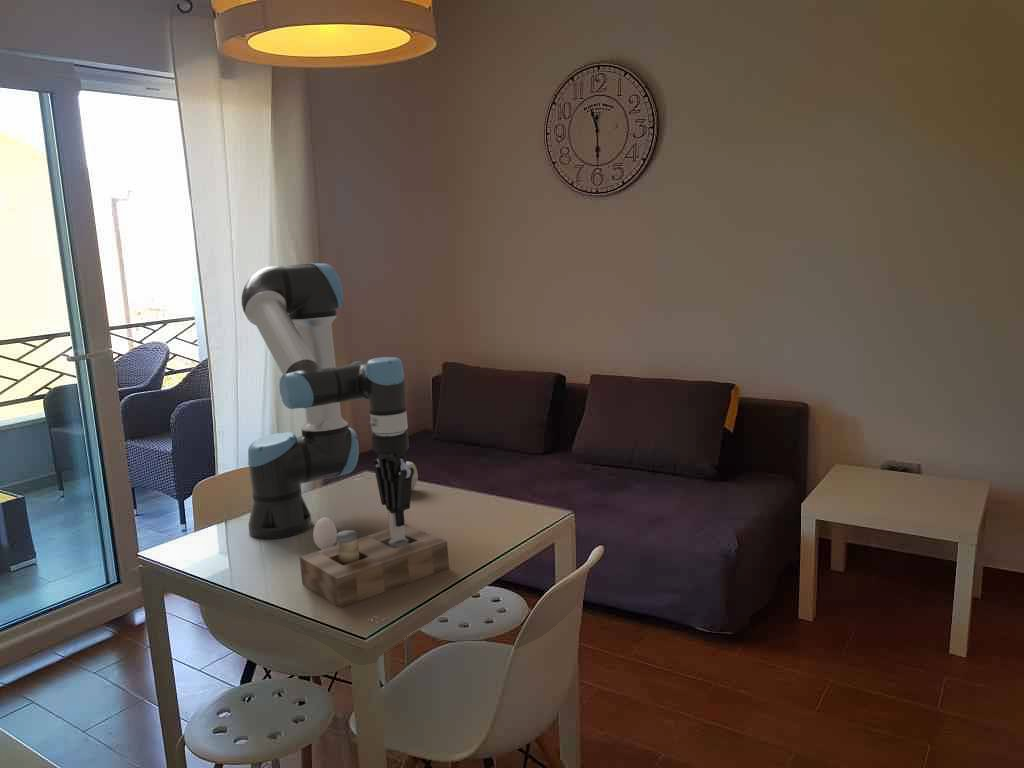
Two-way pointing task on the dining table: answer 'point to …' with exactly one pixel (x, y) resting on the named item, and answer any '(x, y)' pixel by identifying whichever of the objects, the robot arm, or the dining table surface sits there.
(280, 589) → the dining table surface
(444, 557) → the walnut board
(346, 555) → the dowel
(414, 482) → the decorative object
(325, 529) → the egg
